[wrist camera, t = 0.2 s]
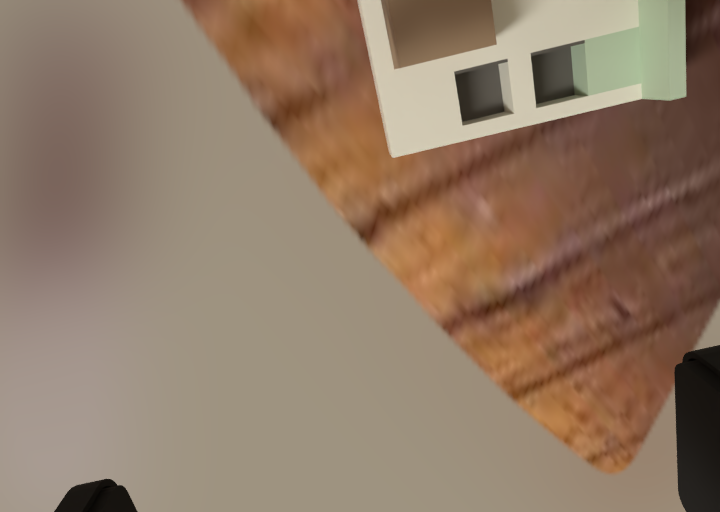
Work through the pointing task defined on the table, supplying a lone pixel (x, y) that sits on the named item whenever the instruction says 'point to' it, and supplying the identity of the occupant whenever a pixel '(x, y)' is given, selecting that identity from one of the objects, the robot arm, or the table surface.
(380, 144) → the table surface
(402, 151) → the trap box
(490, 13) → the block
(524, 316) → the table surface
